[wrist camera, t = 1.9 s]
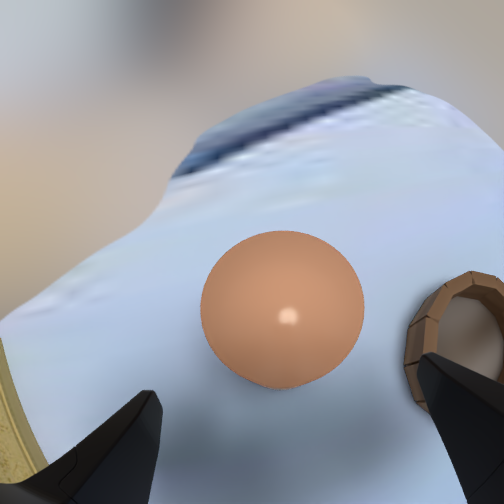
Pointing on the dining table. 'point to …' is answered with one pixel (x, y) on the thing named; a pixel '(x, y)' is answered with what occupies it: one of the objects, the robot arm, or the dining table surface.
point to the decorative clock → (15, 433)
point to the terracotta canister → (282, 309)
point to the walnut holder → (460, 328)
